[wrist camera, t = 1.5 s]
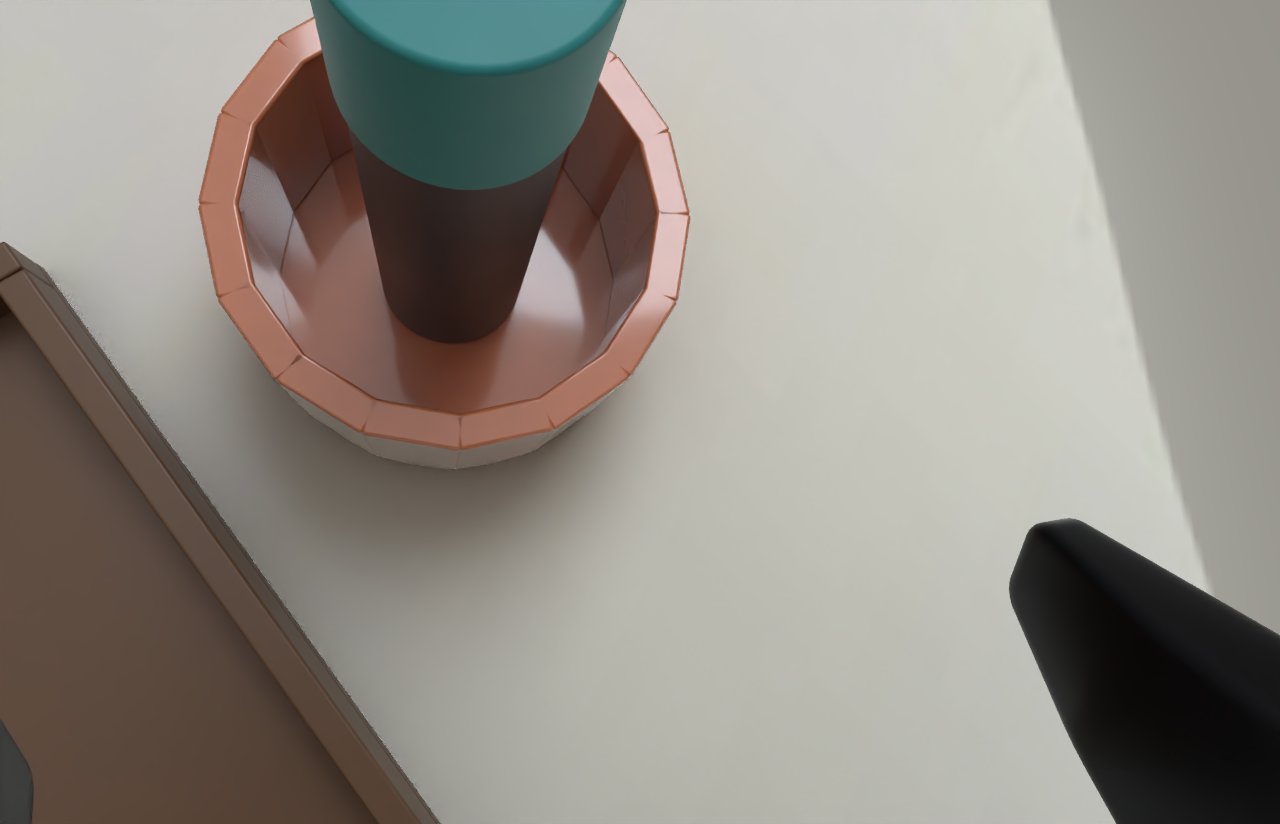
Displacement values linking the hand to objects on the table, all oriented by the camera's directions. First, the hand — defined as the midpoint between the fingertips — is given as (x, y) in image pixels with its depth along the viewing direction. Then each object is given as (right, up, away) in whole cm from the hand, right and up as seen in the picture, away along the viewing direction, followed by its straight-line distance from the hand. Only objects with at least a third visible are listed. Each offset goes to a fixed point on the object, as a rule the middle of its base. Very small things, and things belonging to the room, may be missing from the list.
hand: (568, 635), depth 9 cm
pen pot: (-3, +5, +13) cm, 14 cm away
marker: (-3, +5, +12) cm, 13 cm away
